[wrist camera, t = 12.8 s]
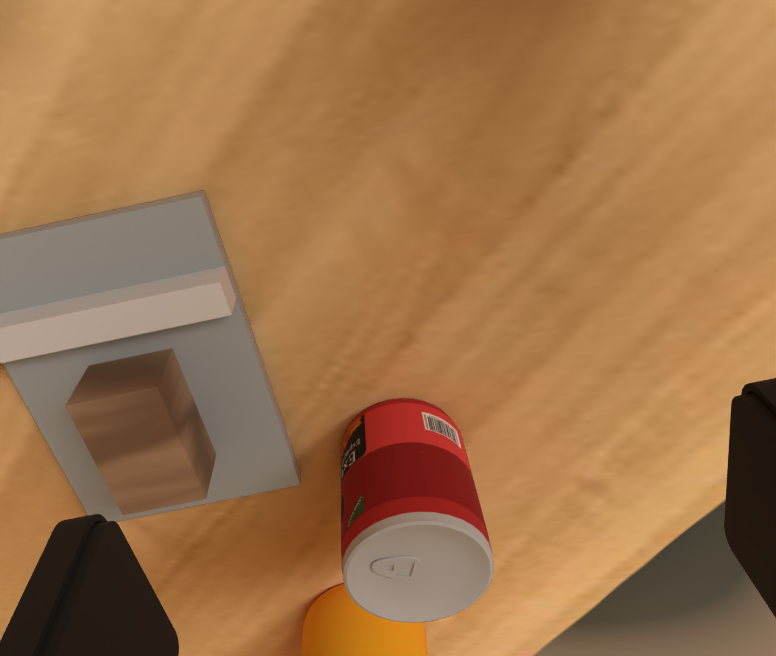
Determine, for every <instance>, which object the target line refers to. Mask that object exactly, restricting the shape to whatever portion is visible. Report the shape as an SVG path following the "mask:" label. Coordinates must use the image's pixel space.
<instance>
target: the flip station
mask: <svg viewBox="0 0 776 656" xmlns="http://www.w3.org/2000/svg"><path fill="white" fill-rule="evenodd" d="M170 348H173V350H174V353H175V355H176V358H177V360H178V362H179V365H180V367H181V370H182V372H183V375H184V377H185V379H186V382H187V384H188V387H189V389H190V391H191V394H192V396H193V399H194V401H195V404H196V406H197V408H198V411H199V413H200V416H201V418H202V421H203V423H204V425H205V428H206V430H207V433H208V435H209V438H210V440H211V442H212V445H213V447H214V450H215V452H216V459H215V463H214V468H213V472H212V476H211V481H210V485H209V489H208V494H207V498H206V499H203V500H198V501H193V502H188V503H183V504H178V505H173V506H168V507H163V508H158V509H153V510H148V511H143V512H138V513H133V514H128V515H122V513H121V511H120V509H119V507H118V505H117V503H116V501H115V499H114V498H113V496H112V494H111V492H110V490H109V488H108V486H107V484H106V482H105V480H104V479H103V477H102V475H101V473H100V471H99V469H98V467H97V465H96V463H95V462H94V460H93V458H92V456H91V454H90V452H89V450H88V448H87V446H86V444H85V443H84V441H83V439H82V437H81V435H80V433H79V431H78V429H77V427H76V426H75V424H74V422H73V420H72V418H71V416H70V414H69V412H68V410H67V408H66V407H65V405H66V404H67V402H68V400H69V399H70V397H71V395H72V393H73V392H74V390H75V388H76V386H77V385H78V383H79V381H80V380H81V378H82V376H83V374H84V373H85V371H86V369H87V367H88V366H89V365H94V364H99V363H103V362H108V361H113V360H118V359H123V358H127V357H132V356H137V355H142V354H146V353H151V352H156V351H161V350H166V349H170ZM0 363H3V365H4V367H5V369H6V371H7V372H8V374H9V376H10V378H11V379H12V381H13V383H14V385H15V387H16V388H17V390H18V392H19V394H20V395H21V397H22V399H23V401H24V403H25V404H26V406H27V408H28V410H29V411H30V413H31V415H32V417H33V419H34V420H35V422H36V424H37V426H38V428H39V429H40V431H41V433H42V435H43V436H44V438H45V440H46V442H47V444H48V445H49V447H50V449H51V451H52V452H53V454H54V456H55V458H56V460H57V461H58V463H59V465H60V467H61V469H62V470H63V472H64V474H65V476H66V477H67V479H68V481H69V483H70V485H71V486H72V488H73V490H74V492H75V493H76V495H77V497H78V499H79V501H80V502H81V504H82V506H83V508H84V510H85V511H86V513H87V515H88V516H89V515H94V514H101V515H102V516H104V517H105V519H106V520H107V521H115V522H118V521H123V520H128V519H133V518H138V517H143V516H148V515H153V514H158V513H163V512H168V511H173V510H178V509H183V508H189V507H194V506H199V505H204V504H209V503H214V502H219V501H224V500H229V499H234V498H239V497H244V496H249V495H254V494H259V493H264V492H269V491H274V490H279V489H284V488H289V487H294V486H299V485H300V484H301V473H300V470H299V467H298V465H297V462H296V459H295V456H294V453H293V450H292V447H291V444H290V441H289V438H288V435H287V432H286V429H285V426H284V423H283V420H282V418H281V415H280V412H279V409H278V406H277V403H276V400H275V397H274V394H273V391H272V388H271V385H270V382H269V379H268V376H267V373H266V370H265V368H264V365H263V362H262V359H261V356H260V353H259V350H258V347H257V344H256V341H255V338H254V335H253V332H252V329H251V326H250V323H249V321H248V318H247V315H246V312H245V309H244V306H243V303H242V300H241V297H240V294H239V291H238V288H237V285H236V282H235V279H234V276H233V274H232V271H231V268H230V265H229V262H228V259H227V256H226V253H225V250H224V247H223V244H222V241H221V238H220V235H219V232H218V229H217V226H216V224H215V221H214V218H213V215H212V212H211V209H210V206H209V203H208V200H207V197H206V194H205V191H204V190H203V191H198V192H194V193H189V194H184V195H180V196H175V197H171V198H166V199H161V200H157V201H152V202H147V203H143V204H138V205H134V206H129V207H124V208H120V209H115V210H110V211H106V212H101V213H96V214H92V215H87V216H83V217H78V218H73V219H69V220H64V221H59V222H55V223H50V224H46V225H41V226H36V227H32V228H27V229H22V230H18V231H13V232H9V233H4V234H0Z"/></svg>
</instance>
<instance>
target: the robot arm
mask: <svg viewBox="0 0 776 656" xmlns="http://www.w3.org/2000/svg"><path fill="white" fill-rule="evenodd" d="M724 527H725V534H726V538H727V541H728V544H729V546H730V547H731V550H732V552H733V553H734V555H735V556H736V558H737V559H738V561H739V562H740V564H741V565H742V567H743V568H744V570H745V572H746V573H747V575H748V576H749V578H750V579H751V581H752V582H753V584H754V585H755V587H756V588H757V590H758V591H759V593H760V594H761V596H762V598H763V599H764V601H765V602H766V604H767V605H768V607H769V608H770V610H771V611H772V613H773V614H774V616H775V617H776V378H774V379H769V380H764V381H759V382H754V383H749V384H746V385H745V386H744V387H743V389H742V394H741V395H740V396H736V397H734V398H733V400H732V404H731V420H730V437H729V454H728V471H727V488H726V506H725V523H724ZM178 654H179V644H178V637H177V634H176V631H175V629H174V627H173V626H172V624H171V622H170V620H169V618H168V616H167V614H166V613H165V611H164V609H163V607H162V605H161V603H160V601H159V599H158V598H157V596H156V594H155V592H154V590H153V588H152V586H151V585H150V583H149V581H148V579H147V577H146V575H145V573H144V572H143V570H142V568H141V566H140V564H139V562H138V560H137V558H136V557H135V555H134V553H133V551H132V549H131V547H130V545H129V544H128V542H127V540H126V538H125V536H124V534H123V532H122V530H121V529H120V527H119V525H118V524H117V523H116V522H115V521H107V520H106V519H105V517H104V516H102V515H101V514H94V515H89V516H84V517H79V518H74V519H69V520H64V521H61V522H59V523H58V524H57V525H56V527H55V528H54V530H53V532H52V534H51V536H50V538H49V540H48V542H47V545H46V547H45V549H44V551H43V553H42V555H41V557H40V559H39V561H38V563H37V566H36V568H35V570H34V572H33V574H32V576H31V578H30V580H29V582H28V584H27V586H26V589H25V591H24V593H23V595H22V597H21V599H20V601H19V603H18V605H17V607H16V610H15V612H14V614H13V616H12V618H11V620H10V622H9V624H8V626H7V628H6V631H5V633H4V635H3V637H2V639H1V641H0V656H178Z"/></svg>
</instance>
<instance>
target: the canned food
mask: <svg viewBox="0 0 776 656" xmlns="http://www.w3.org/2000/svg"><path fill="white" fill-rule="evenodd" d="M341 556H342V573H343V579H344V584H345V588H346V590H347V592H348V594H349V596H350V597H351V598H352V600H353V601H354V602H355V603H356V604H357V605H358V606H360V607H361V608H362V609H364V610H365V611H367V612H368V613H371V614H373V615H375V616H377V617H380V618H383V619H387V620H390V621H397V622H404V623H420V622H428V621H434V620H438V619H442V618H446V617H449V616H451V615H454V614H456V613H459V612H460V611H462V610H464V609H466V608H467V607H469V606H471V605H472V604H473V603H474V602H475V601H477V600H478V599H479V598H480V597H481V596H482V595H483V593H484V592H485V591H486V590H487V588H488V586H489V584H490V582H491V580H492V576H493V571H494V568H493V557H492V550H491V546H490V542H489V536H488V533H487V529H486V525H485V521H484V518H483V514H482V510H481V506H480V503H479V499H478V495H477V491H476V488H475V484H474V480H473V476H472V473H471V469H470V465H469V461H468V458H467V454H466V450H465V446H464V443H463V439H462V436H461V433H460V431H459V429H458V428H457V426H456V425H455V423H454V422H453V421H452V420H451V418H450V417H449V416H448V415H447V414H446V413H444V412H443V411H442V410H441V409H439V408H438V407H436V406H434V405H432V404H430V403H427V402H424V401H420V400H415V399H403V398H400V399H392V400H387V401H383V402H380V403H377V404H375V405H373V406H370V407H368V408H367V409H365V410H364V411H363V412H361V413H360V414H359V415H358V416H357V417H356V418H355V419H354V420H353V421H352V423H351V424H350V426H349V427H348V429H347V431H346V433H345V435H344V438H343V441H342V444H341Z"/></svg>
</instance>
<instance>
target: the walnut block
mask: <svg viewBox="0 0 776 656" xmlns="http://www.w3.org/2000/svg"><path fill="white" fill-rule="evenodd" d="M65 407H66V408H67V410H68V412H69V414H70V416H71V418H72V420H73V422H74V424H75V426H76V427H77V429H78V431H79V433H80V435H81V437H82V439H83V441H84V443H85V444H86V446H87V448H88V450H89V452H90V454H91V456H92V458H93V460H94V462H95V463H96V465H97V467H98V469H99V471H100V473H101V475H102V477H103V479H104V480H105V482H106V484H107V486H108V488H109V490H110V492H111V494H112V496H113V498H114V499H115V501H116V503H117V505H118V507H119V509H120V511H121V513H122V515H128V514H133V513H138V512H143V511H148V510H153V509H158V508H163V507H168V506H173V505H178V504H183V503H188V502H193V501H198V500H203V499H206V498H207V494H208V489H209V485H210V481H211V476H212V472H213V468H214V463H215V459H216V452H215V450H214V447H213V445H212V442H211V440H210V438H209V435H208V433H207V430H206V428H205V425H204V423H203V421H202V418H201V416H200V413H199V411H198V408H197V406H196V404H195V401H194V399H193V396H192V394H191V391H190V389H189V387H188V384H187V382H186V379H185V377H184V375H183V372H182V370H181V367H180V365H179V362H178V360H177V358H176V355H175V353H174V350H173V348H170V349H166V350H161V351H156V352H151V353H146V354H142V355H137V356H132V357H127V358H123V359H118V360H113V361H108V362H103V363H99V364H94V365H89V366H88V367H87V369H86V371H85V373H84V374H83V376H82V378H81V380H80V381H79V383H78V385H77V386H76V388H75V390H74V392H73V393H72V395H71V397H70V399H69V400H68V402H67V404H66V405H65Z"/></svg>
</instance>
